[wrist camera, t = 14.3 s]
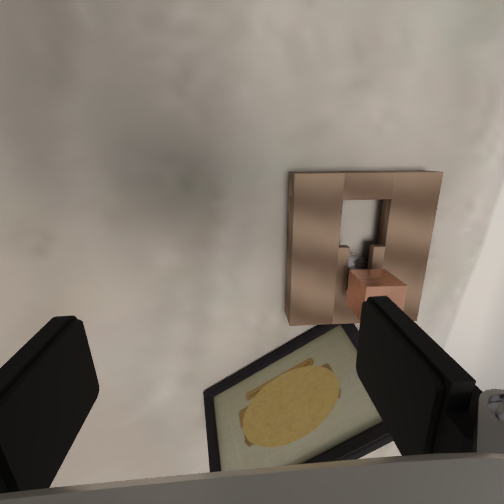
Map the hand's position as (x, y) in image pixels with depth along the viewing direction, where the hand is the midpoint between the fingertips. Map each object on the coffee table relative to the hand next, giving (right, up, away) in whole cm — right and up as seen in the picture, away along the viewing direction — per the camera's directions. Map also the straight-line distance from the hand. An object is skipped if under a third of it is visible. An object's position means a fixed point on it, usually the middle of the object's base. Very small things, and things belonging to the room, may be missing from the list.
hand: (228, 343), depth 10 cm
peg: (+13, +1, +29) cm, 31 cm away
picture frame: (+6, -14, +33) cm, 37 cm away
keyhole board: (+13, +4, +28) cm, 31 cm away
